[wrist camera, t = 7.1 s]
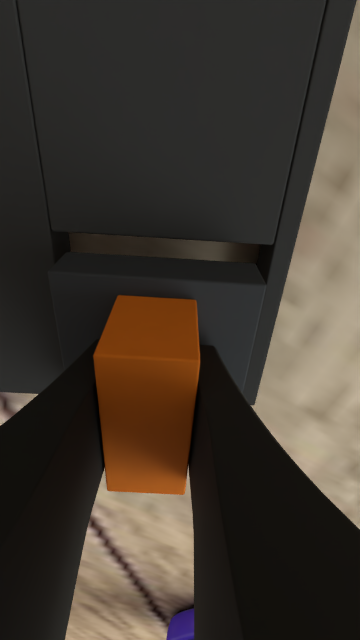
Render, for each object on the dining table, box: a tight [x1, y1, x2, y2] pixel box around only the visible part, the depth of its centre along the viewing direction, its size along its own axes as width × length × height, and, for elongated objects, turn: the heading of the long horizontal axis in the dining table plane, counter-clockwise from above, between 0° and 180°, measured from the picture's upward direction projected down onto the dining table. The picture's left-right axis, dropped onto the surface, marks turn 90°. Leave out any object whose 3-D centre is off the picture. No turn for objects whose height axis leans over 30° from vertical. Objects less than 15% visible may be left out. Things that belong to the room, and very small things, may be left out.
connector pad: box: [48, 252, 266, 495], centre depth 9 cm, size 5×5×4 cm
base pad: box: [0, 0, 356, 405], centre depth 9 cm, size 16×14×2 cm
